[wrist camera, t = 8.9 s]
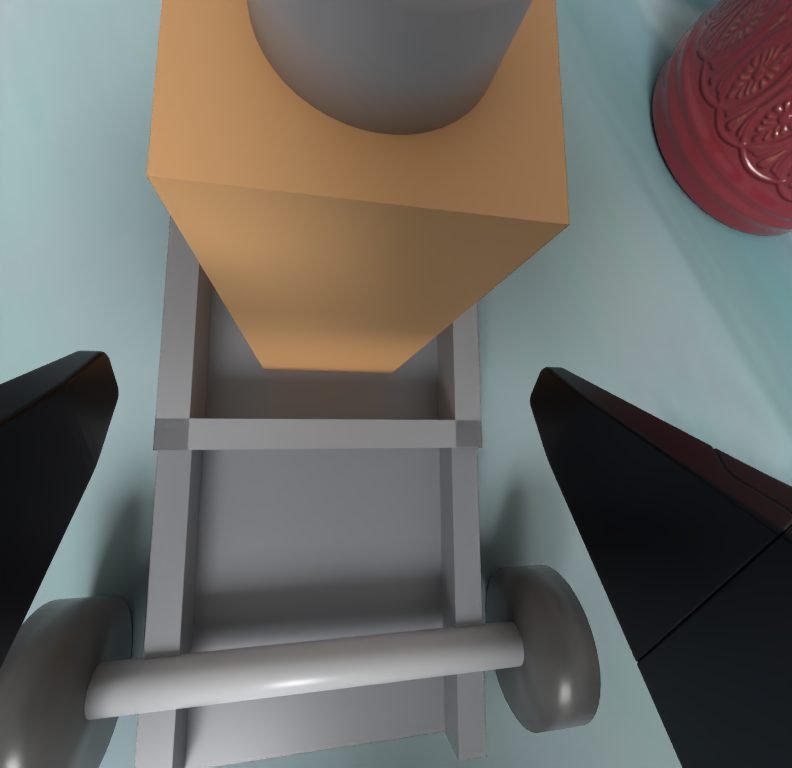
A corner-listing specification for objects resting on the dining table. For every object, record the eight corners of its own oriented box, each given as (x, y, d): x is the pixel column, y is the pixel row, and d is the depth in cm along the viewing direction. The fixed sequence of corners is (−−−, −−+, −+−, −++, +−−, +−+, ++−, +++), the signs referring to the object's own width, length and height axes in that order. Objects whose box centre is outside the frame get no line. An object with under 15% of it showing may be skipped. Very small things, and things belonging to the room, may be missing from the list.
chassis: (524, 701, 17) (608, 802, 12) (69, 767, 14) (-57, 939, 9) (503, 217, 20) (564, 147, 15) (124, 175, 17) (50, 67, 12)
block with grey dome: (391, 373, 17) (664, 144, 4) (263, 369, 16) (68, 45, 3) (391, 257, 18) (624, -262, 5) (269, 246, 17) (129, -454, 4)
